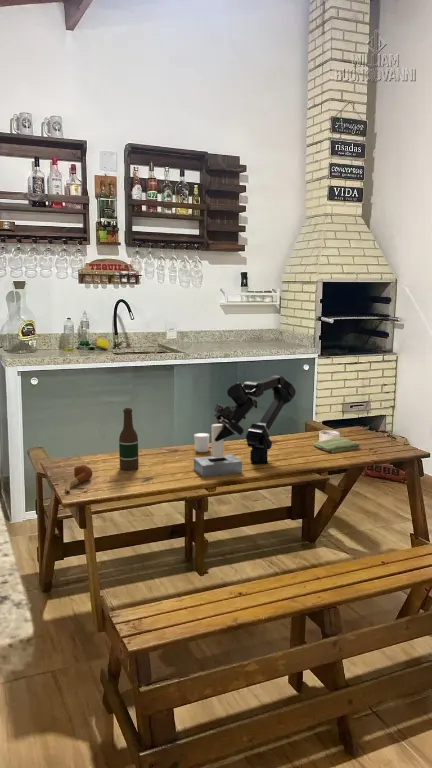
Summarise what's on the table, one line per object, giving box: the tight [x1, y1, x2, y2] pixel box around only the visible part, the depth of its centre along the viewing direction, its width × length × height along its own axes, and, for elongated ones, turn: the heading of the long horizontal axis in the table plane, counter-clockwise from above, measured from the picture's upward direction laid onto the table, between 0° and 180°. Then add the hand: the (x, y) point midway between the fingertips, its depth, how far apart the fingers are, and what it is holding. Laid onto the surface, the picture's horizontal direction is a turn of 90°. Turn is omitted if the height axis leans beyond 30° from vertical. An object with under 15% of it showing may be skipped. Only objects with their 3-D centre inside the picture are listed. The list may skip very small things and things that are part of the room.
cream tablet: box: [210, 423, 225, 458], centre depth 250 cm, size 4×2×12 cm, turn 110°
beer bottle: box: [118, 407, 140, 472], centre depth 254 cm, size 8×8×24 cm
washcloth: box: [312, 436, 360, 454], centre depth 285 cm, size 13×18×3 cm
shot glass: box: [193, 432, 211, 453], centre depth 281 cm, size 7×7×7 cm
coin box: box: [193, 453, 243, 478], centre depth 252 cm, size 16×11×4 cm
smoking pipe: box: [65, 464, 93, 495], centre depth 235 cm, size 7×18×6 cm, turn 176°
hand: (214, 440), depth 250 cm, fingers closed on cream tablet, 2 cm apart
